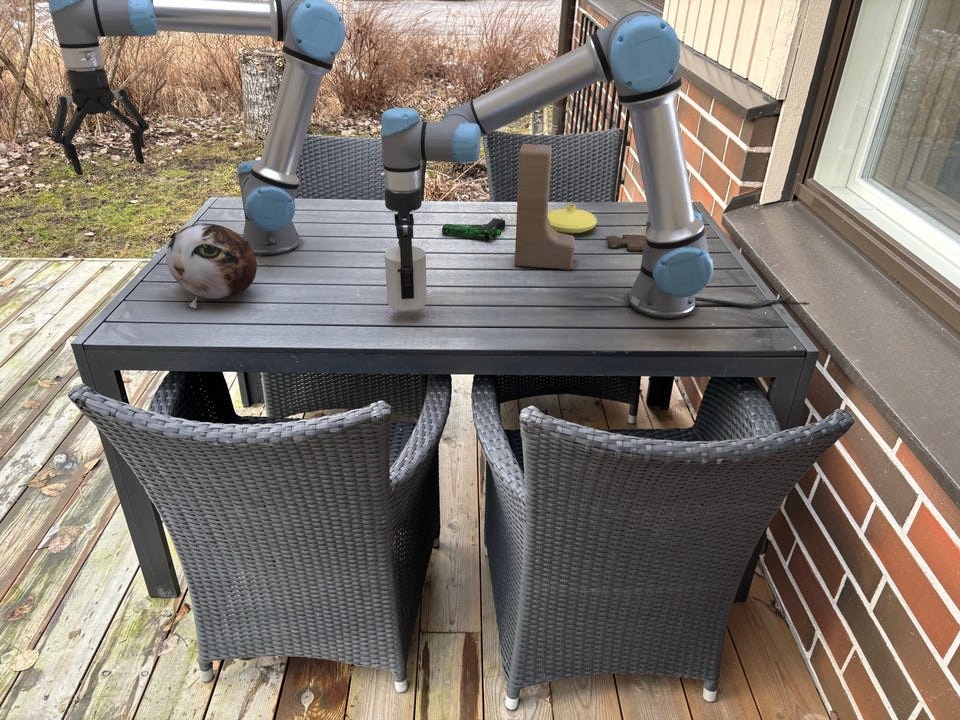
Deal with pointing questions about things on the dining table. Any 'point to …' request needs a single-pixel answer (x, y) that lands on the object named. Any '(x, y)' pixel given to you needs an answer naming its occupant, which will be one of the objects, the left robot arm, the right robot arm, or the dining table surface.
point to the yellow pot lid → (571, 220)
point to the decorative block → (538, 214)
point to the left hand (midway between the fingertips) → (110, 168)
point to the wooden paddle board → (627, 241)
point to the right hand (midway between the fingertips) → (406, 288)
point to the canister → (395, 279)
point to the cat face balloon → (211, 261)
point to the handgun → (476, 230)
